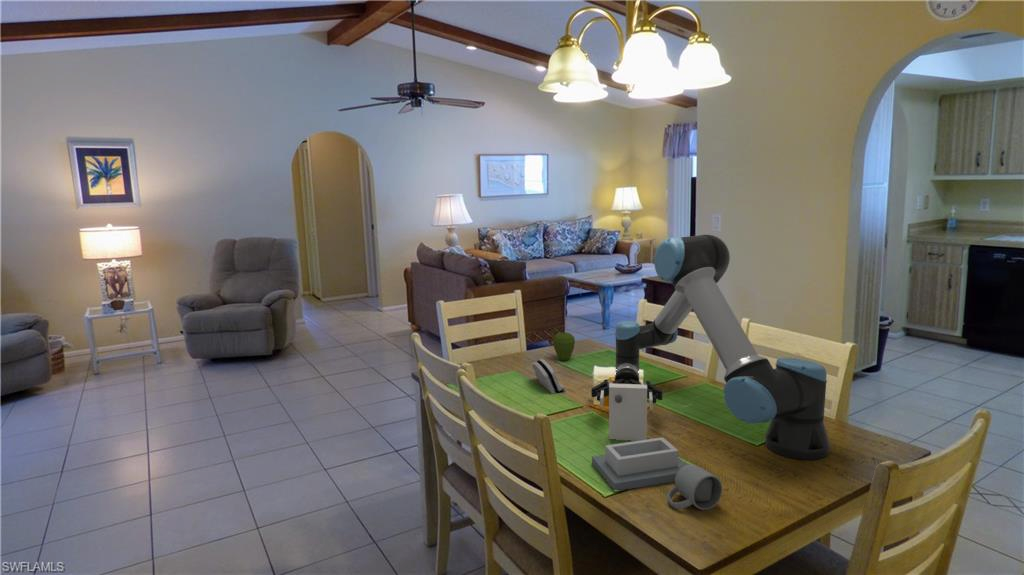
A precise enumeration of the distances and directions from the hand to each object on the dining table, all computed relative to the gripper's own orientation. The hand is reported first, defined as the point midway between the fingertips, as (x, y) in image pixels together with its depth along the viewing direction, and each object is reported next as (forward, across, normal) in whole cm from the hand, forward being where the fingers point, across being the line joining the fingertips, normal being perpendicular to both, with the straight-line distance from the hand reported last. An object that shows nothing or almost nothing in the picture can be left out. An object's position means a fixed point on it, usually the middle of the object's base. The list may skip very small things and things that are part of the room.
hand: (626, 403), depth 167 cm
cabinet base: (+23, -4, -8) cm, 25 cm away
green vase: (-65, +25, -8) cm, 70 cm away
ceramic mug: (+36, -15, -8) cm, 39 cm away
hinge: (-35, +27, -8) cm, 45 cm away
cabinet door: (+4, 0, -8) cm, 9 cm away
